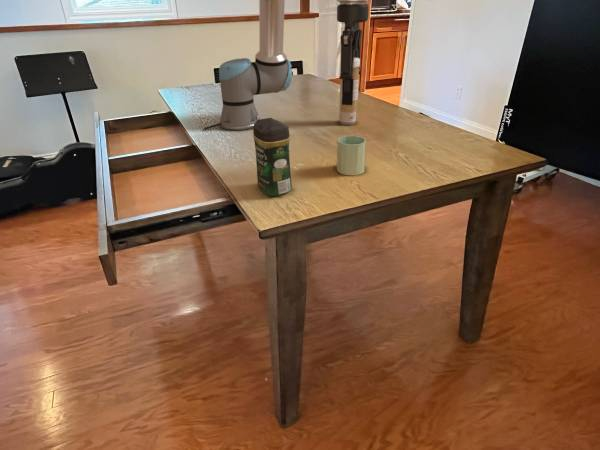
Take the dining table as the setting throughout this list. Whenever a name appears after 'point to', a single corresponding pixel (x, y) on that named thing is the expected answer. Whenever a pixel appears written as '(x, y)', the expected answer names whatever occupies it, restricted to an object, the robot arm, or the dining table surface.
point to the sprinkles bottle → (355, 89)
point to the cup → (351, 155)
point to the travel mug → (346, 117)
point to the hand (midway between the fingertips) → (349, 102)
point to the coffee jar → (272, 156)
